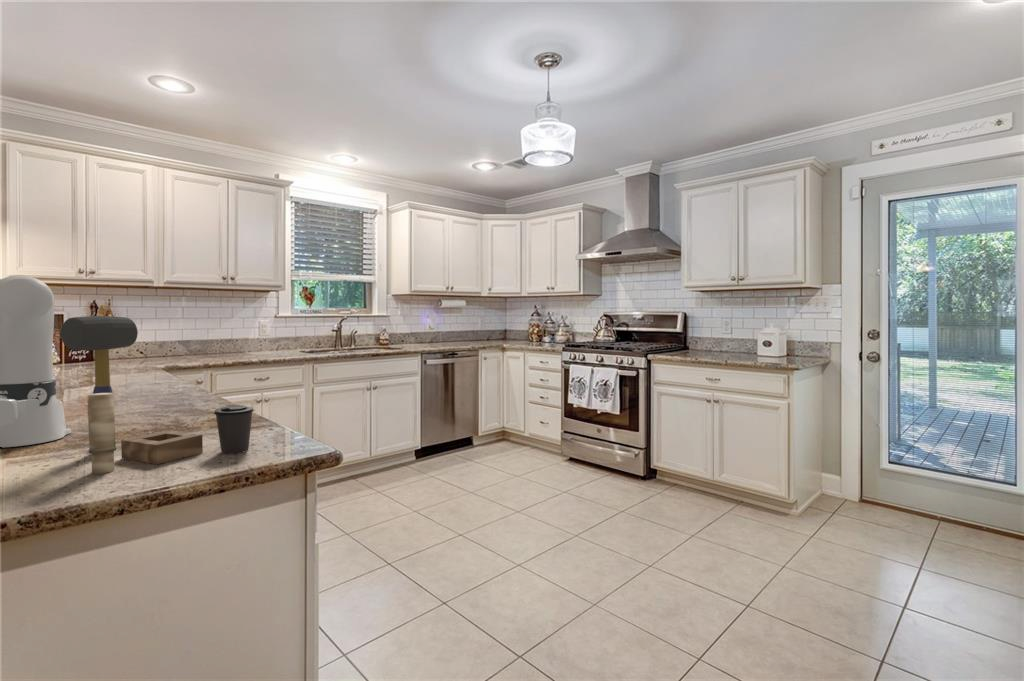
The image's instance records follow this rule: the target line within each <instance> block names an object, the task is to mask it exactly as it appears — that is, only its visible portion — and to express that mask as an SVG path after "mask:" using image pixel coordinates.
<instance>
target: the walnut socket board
mask: <svg viewBox="0 0 1024 681" xmlns="http://www.w3.org/2000/svg"><path fill="white" fill-rule="evenodd" d="M120 443H121V444H120V446H121V447H120V448H121V449H120V450H121V459H122V460H127V461H132V460H133V461H132V462H138V461H139V463H144V462H145V464H150V463H152V464H151V465H156V464H158V465H161V463H162V464H165V463H169V462H172V461H171V460H173V461H175V459H177V460H179V458H180V459H184V458H187V457H191V456H195V455H199V454H203V452H204V451H203V448H204V447H203V434H200V433H192V432H186V431H185V432H184V431H176V430H169V429H168V430H162V431H158V432H153V433H148V434H143V435H139V436H134V437H129V438H125V439H121V440H120ZM183 457H184V458H183ZM168 461H169V462H168ZM164 462H165V463H164Z"/></svg>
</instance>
